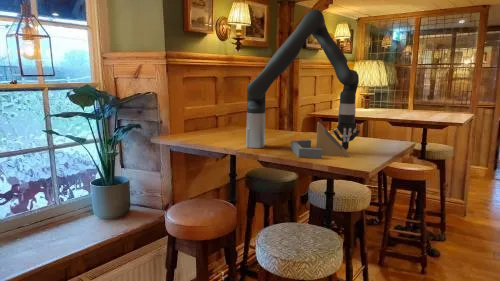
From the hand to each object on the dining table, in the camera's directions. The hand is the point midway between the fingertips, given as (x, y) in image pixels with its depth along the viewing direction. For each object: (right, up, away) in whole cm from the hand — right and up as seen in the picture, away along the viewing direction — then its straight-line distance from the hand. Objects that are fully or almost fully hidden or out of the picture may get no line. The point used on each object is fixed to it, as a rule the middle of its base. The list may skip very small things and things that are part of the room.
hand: (344, 149), depth 171 cm
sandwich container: (-6, -2, -3) cm, 8 cm away
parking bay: (-19, -2, -1) cm, 19 cm away
